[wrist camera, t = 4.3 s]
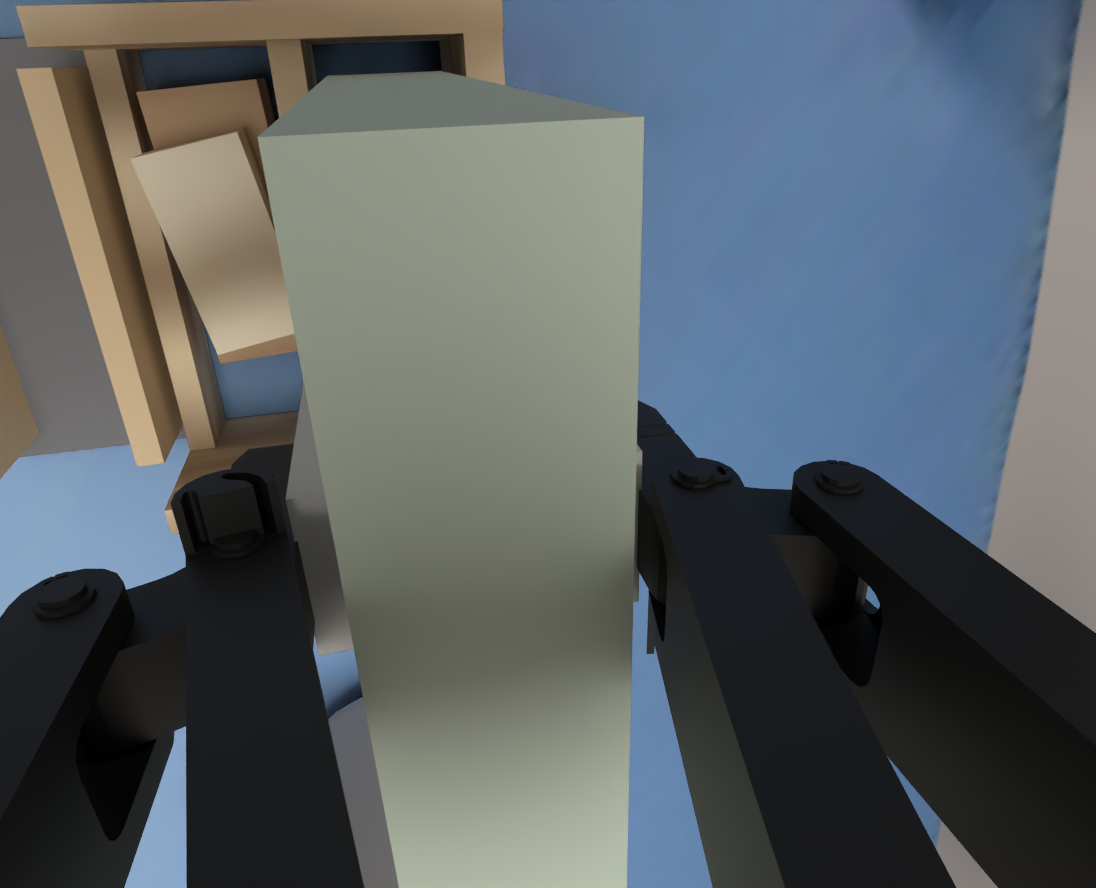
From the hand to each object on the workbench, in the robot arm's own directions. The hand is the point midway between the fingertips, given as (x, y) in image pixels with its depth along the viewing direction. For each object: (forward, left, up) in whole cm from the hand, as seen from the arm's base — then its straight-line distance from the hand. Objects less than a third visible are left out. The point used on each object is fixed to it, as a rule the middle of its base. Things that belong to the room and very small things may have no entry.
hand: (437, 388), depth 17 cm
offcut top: (-1, -6, -16) cm, 17 cm away
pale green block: (0, 0, -12) cm, 12 cm away
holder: (0, -14, -19) cm, 23 cm away
